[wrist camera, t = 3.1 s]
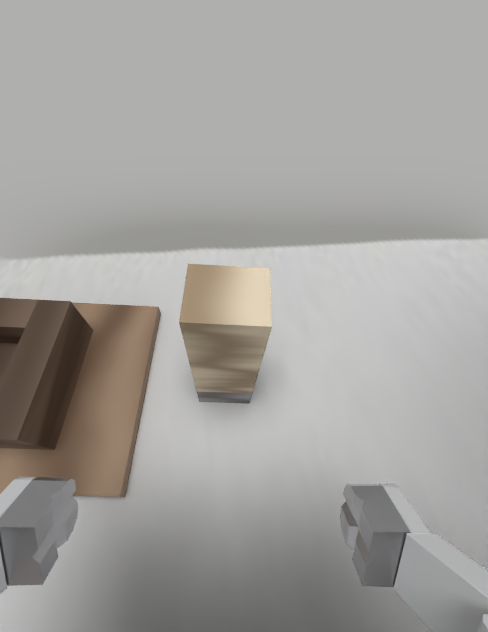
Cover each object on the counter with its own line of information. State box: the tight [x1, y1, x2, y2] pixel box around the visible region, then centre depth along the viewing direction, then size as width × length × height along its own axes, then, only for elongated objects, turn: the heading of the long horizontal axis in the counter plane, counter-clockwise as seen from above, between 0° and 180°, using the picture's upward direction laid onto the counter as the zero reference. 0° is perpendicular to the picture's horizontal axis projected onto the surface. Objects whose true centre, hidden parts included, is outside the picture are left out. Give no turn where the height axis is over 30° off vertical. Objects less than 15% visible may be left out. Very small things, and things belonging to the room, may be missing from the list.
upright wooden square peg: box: [179, 264, 272, 403], centre depth 21 cm, size 4×4×14 cm
